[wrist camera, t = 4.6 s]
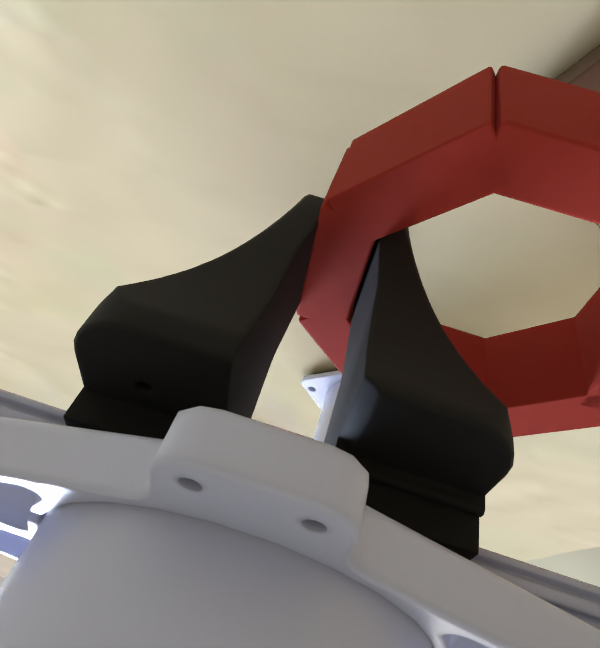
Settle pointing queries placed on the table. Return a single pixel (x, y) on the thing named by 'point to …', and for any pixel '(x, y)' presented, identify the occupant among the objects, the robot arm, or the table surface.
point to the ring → (457, 190)
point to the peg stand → (585, 73)
